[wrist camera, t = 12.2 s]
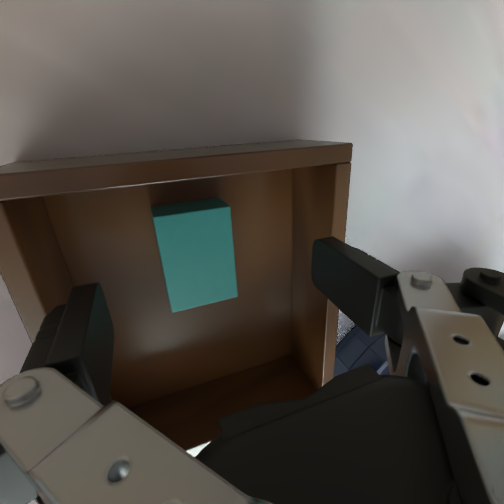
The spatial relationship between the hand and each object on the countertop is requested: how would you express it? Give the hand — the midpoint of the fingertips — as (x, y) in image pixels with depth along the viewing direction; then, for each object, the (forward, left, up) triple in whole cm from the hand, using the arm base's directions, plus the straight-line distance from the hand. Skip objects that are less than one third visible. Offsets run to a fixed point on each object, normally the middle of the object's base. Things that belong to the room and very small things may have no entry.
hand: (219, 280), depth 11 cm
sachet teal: (+1, 0, -5) cm, 5 cm away
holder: (+3, 0, -6) cm, 7 cm away
